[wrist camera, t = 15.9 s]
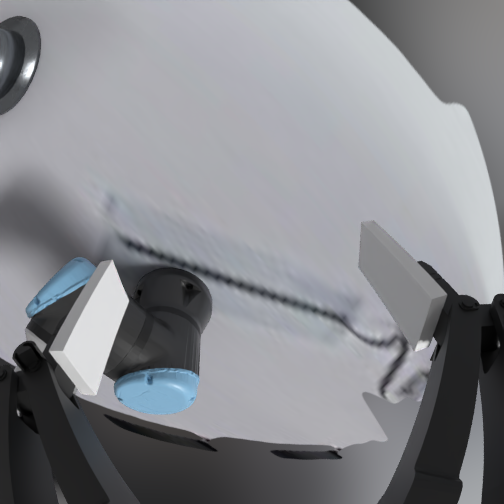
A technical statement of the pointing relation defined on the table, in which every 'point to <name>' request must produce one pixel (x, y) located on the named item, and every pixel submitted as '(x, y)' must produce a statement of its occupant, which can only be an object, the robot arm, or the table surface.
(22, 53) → the grey round lid
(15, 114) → the table surface
